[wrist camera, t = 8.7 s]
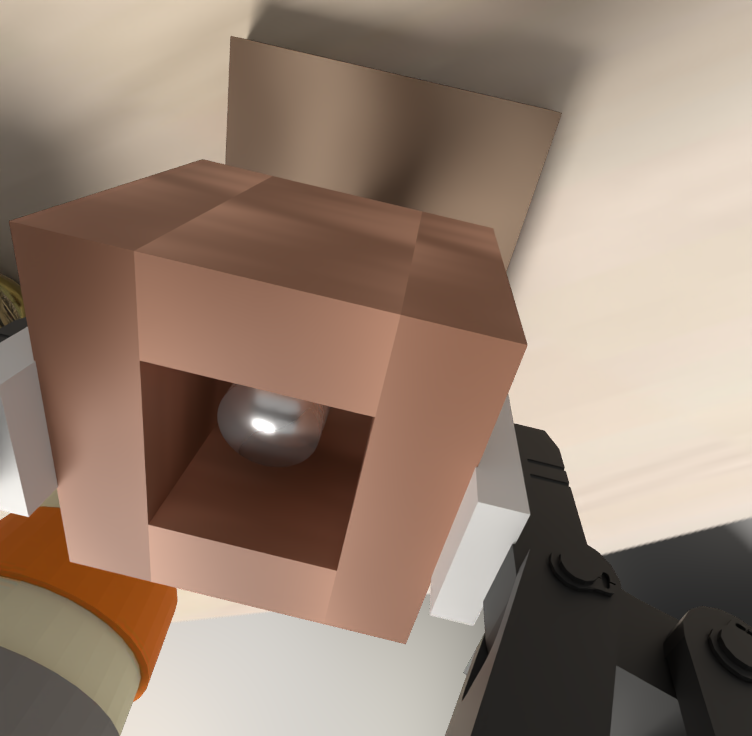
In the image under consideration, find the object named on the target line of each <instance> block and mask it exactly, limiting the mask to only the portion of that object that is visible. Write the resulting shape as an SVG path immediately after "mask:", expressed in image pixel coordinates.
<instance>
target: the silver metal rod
mask: <svg viewBox="0 0 752 736" xmlns="http://www.w3.org/2000/svg"><path fill="white" fill-rule="evenodd" d="M330 408H331V407H330V406H326V405H322V404H318V403H314V402H310V401H306V400H301V399H297V398H293V397H289V396H285V395H281V394H277V393H272V392H268V391H264V390H260V389H256V388H252V387H248V386H243V385H239V384H235V383H233V384H232V386H231V387H230V389H229V390H228V391H227V393H226V394H225V396H224V397H223V399H222V400H221V402H220V404H219V407H218V413H217V420H218V426H219V429H220V431H221V433H222V435H223V437H224V439H225V440H226V442H227V443H228V444H229V445H230V446H231V447H232V448H233V449H234V450H235V451H236V452H237V453H239V454H240V455H241V456H243V457H244V458H246V459H248V460H250V461H252V462H255V463H257V464H260V465H264V466H269V467H288V466H292V465H296V464H298V463H301V462H302V461H304V460H306V459H307V458H308V457H309V456H310V455H311V454H312V453H313V452H314V451H315V449H316V447H317V445H318V442H319V439H320V437H321V434H322V431H323V428H324V425H325V423H326V420H327V417H328V414H329V411H330Z"/></svg>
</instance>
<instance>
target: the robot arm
mask: <svg viewBox="0 0 752 736" xmlns="http://www.w3.org/2000/svg"><path fill="white" fill-rule="evenodd" d="M564 468H565V467H564V464H563V460H562V457H561V454H560V450H559V448H558V447H557V446H556V444H555V443H554V442H553V441H552V439H551V438H550V437H549V436H548V434H547V433H546V432H545V431H543V430H539V429H535V428H531V427H527V426H523V425H519V424H514V422H513V417H512V411H511V406H510V400H509V395H508V394H507V397H506V399H505V402H504V404H503V407H502V409H501V412H500V414H499V416H498V419H497V421H496V424H495V426H494V429H493V431H492V434H491V436H490V438H489V441H488V443H487V446H486V448H485V451H484V453H483V456H482V458H481V461H480V463H479V465H478V467H475V470H474V472H473V475H472V477H471V480H470V482H469V485H468V487H467V490H466V492H465V495H464V497H463V500H462V502H461V505H460V507H459V510H458V512H457V515H456V517H455V520H454V522H453V525H452V527H451V530H450V532H449V535H448V537H447V539H446V542H445V544H444V547H443V549H442V552H441V554H440V557H439V559H438V562H437V564H436V567H435V569H434V572H433V574H432V577H431V595H430V615H431V616H435V617H439V618H443V619H447V620H452V621H455V622H460V623H464V624H468V625H472V626H473V625H474V624H475V622H476V620H477V618H478V616H479V614H480V612H481V610H482V608H483V607H484V622H485V633H484V635H483V637H482V639H481V641H480V643H479V645H478V646H477V648H476V650H475V652H474V654H473V656H472V657H471V659H470V661H469V663H468V665H467V667H466V669H465V670H464V672H463V673H464V674H466V675H467V676H466V679H465V682H464V684H463V687H462V690H461V693H460V695H459V698H458V701H457V704H456V707H455V709H454V712H453V715H452V718H451V721H450V723H449V726H448V729H447V731H446V734H445V736H752V627H750V626H749V625H747V624H746V623H745V622H743V621H742V620H741V619H739V618H737V617H735V616H733V615H731V614H729V613H727V612H724V611H722V610H720V609H716V608H710V607H705V606H700V607H697V608H693V609H690V610H689V611H688V612H687V613H686V614H685V615H684V617H683V618H682V619H681V620H680V621H679V620H677V619H675V618H674V617H672V616H670V615H668V614H666V613H664V612H662V611H660V610H658V609H656V608H654V607H652V606H650V605H648V604H646V603H644V602H643V601H640V600H639V599H637V598H635V597H634V596H632V595H630V594H629V593H627V592H625V591H624V590H622V589H621V584H620V580H619V578H618V577H617V575H616V573H615V571H614V570H613V568H612V566H611V565H610V564H609V563H608V562H607V561H606V560H605V559H604V558H603V556H602V555H601V554H600V553H599V552H598V551H596V550H595V549H593V548H592V547H590V546H588V545H587V542H586V539H585V535H584V532H583V529H582V525H581V522H580V518H579V515H578V512H577V508H576V505H575V501H574V498H573V494H572V491H571V488H570V487H569V481H568V477H567V474H566V471H564ZM57 487H58V485H57V479H56V473H55V468H54V462H53V457H52V451H51V446H50V440H49V434H48V429H47V423H46V418H45V412H44V407H43V401H42V395H41V390H40V384H39V379H38V373H37V368H36V362H35V361H34V359H33V353H32V347H31V342H30V336H29V331H28V325H27V319H26V317H24V318H21V319H17V320H14V321H13V322H11V323H9V324H7V325H5V326H3V327H2V328H0V510H2V511H6V512H10V513H14V514H18V515H22V516H26V517H29V516H30V515H31V514H32V513H33V512H34V511H35V510H36V509H37V508H38V507H39V506H40V505H41V504H42V503H43V502H44V501H45V500H46V499H47V498H48V497H49V496H50V495H51V494H52V493H53V491H54V490H55V489H56V488H57Z"/></svg>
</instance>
